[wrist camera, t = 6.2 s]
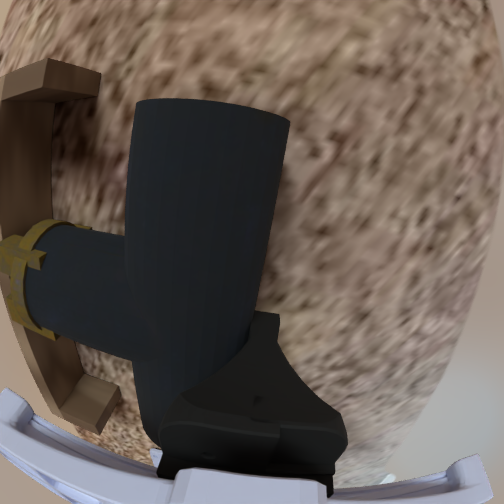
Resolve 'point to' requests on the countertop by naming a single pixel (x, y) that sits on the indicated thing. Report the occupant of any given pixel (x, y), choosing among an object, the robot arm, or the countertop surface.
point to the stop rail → (36, 210)
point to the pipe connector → (163, 250)
